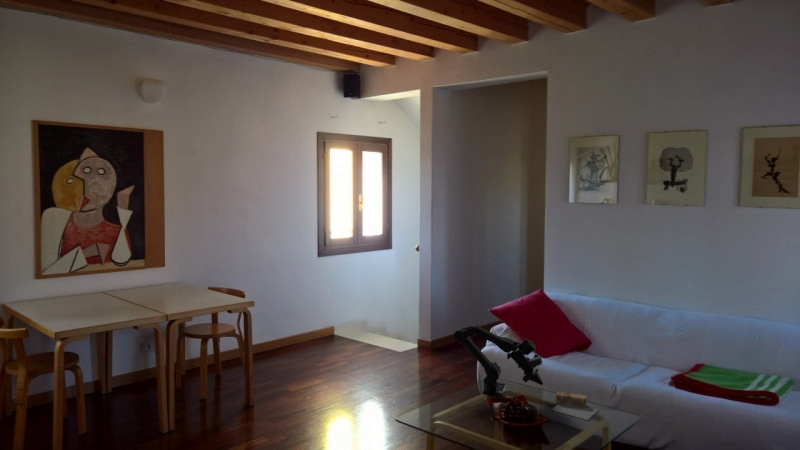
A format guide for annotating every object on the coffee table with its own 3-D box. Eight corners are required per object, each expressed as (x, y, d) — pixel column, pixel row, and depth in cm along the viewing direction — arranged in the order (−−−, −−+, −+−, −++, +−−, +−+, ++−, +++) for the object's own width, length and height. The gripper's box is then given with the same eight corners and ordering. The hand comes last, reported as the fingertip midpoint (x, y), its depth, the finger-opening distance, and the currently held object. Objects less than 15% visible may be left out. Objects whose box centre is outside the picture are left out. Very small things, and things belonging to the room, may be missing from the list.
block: (556, 394, 294) (585, 398, 289) (557, 391, 299) (586, 395, 293) (556, 403, 295) (585, 407, 290) (557, 399, 299) (586, 404, 294)
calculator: (492, 402, 289) (522, 400, 289) (492, 410, 290) (523, 409, 290) (495, 411, 278) (527, 410, 278) (495, 420, 279) (527, 419, 279)
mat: (551, 410, 288) (551, 409, 287) (562, 401, 298) (562, 400, 298) (587, 420, 277) (587, 419, 277) (598, 410, 288) (598, 409, 288)
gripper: (530, 356, 290) (552, 381, 287) (535, 345, 307) (556, 368, 304) (513, 370, 293) (535, 394, 291) (519, 358, 311) (540, 381, 308)
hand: (542, 384), depth 299 cm, fingers closed
